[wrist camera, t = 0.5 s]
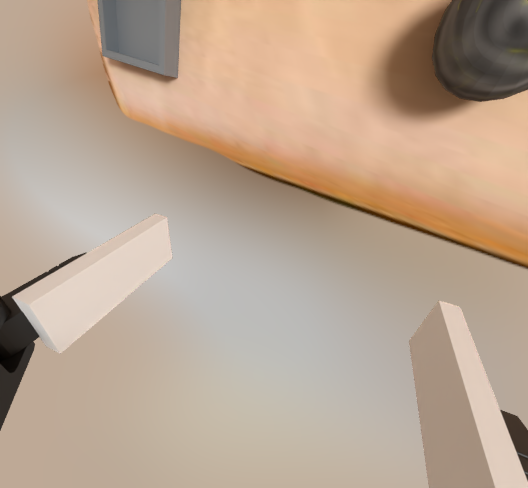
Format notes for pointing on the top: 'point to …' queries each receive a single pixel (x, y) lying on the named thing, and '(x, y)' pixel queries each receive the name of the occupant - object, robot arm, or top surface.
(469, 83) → the decorative stone
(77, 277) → the robot arm
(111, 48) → the tray
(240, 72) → the top surface
